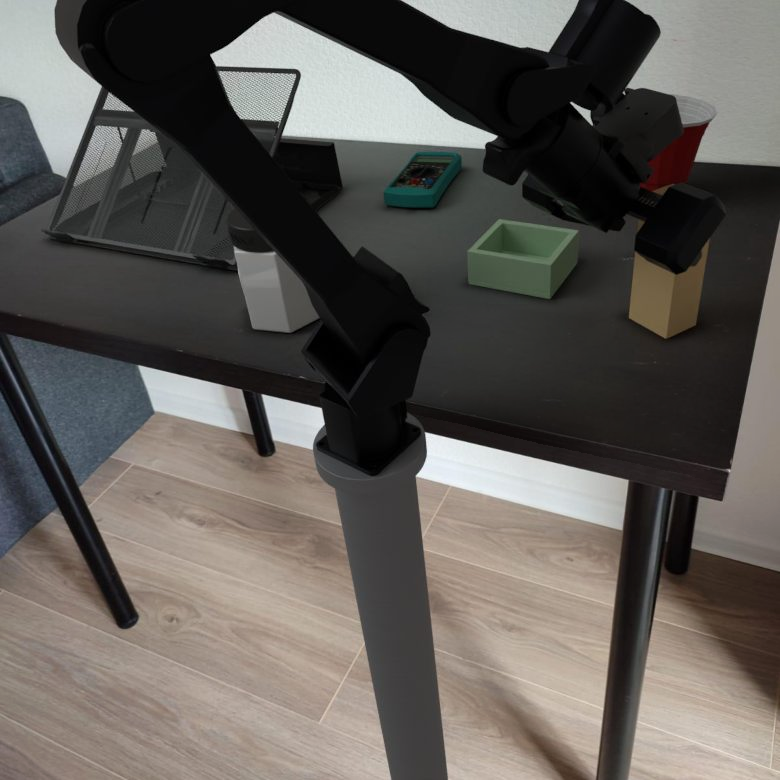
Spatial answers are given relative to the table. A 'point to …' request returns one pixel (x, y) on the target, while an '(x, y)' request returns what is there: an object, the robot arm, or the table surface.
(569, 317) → the table surface
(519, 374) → the table surface
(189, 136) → the robot arm
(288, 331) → the jar
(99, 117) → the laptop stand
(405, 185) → the digital multimeter
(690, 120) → the plastic cup
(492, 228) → the sage green storage bin
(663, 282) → the tan rectangular block
